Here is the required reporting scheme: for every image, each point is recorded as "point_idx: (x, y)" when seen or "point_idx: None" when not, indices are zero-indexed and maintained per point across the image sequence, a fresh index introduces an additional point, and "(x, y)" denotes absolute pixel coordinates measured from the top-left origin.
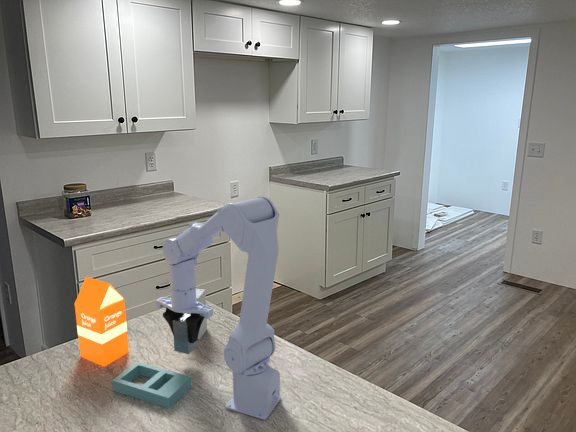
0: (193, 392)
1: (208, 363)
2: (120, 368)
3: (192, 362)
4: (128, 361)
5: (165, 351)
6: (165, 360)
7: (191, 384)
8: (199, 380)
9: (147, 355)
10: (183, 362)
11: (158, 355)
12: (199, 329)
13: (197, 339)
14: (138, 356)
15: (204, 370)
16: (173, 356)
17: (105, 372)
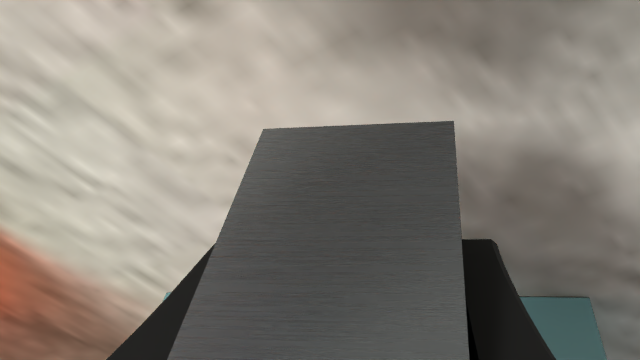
0: (628, 329)
1: (562, 29)
2: (67, 306)
3: (409, 82)
4: (27, 248)
5: (85, 56)
6: (200, 151)
7: (593, 317)
8: (606, 235)
9: (42, 156)
10: (340, 114)
11: (99, 124)
12: (545, 345)
13: (456, 179)
14: (12, 189)
15: (580, 129)
16: (202, 84)
17: (49, 347)
